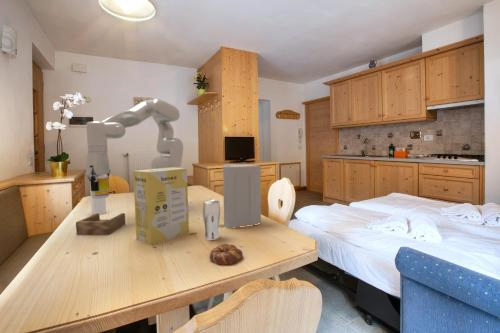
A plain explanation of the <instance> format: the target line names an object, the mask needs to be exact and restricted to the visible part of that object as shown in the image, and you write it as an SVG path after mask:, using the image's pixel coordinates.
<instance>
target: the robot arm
mask: <svg viewBox="0 0 500 333" xmlns="http://www.w3.org/2000/svg"><path fill="white" fill-rule="evenodd" d="M180 116H181V114H180V111H179V109H178V108H177V107H176V105H175V106H174V105H172V104H171V103H168V102H167V101H164V100H162V99H159V98H154V99H144V100H142V101H141V102H139V103H136V105H134V106H132V107H130V108H129V109H127V110H124V111H122V112H119V113H117V114H114V115H112V116H110V117H107V118H106V119H104V120H102V121H96V120H95V121H87V122H86V124H85V127H86V142H87V143H86V144H87V145H86V146H87V155H86V161H85V162H86V164H85V165H86V168H85V169H86V174H85V175H86V176H87V179H88V180H89V185H90V184H91V191H99V183H98V182H97V180H98V176H99V175H102V174H106V175H107V176H108V180H109V179H110V177H109V176H110V174H111V169H110V161H109V156H108V153H109V151H108V139H109V140H111V139H112V140H115V139H121V138H123V137H124V136H125V134H126V131H127V130H126V129H127V128H131V127H135V126H137V125H140V124H141V123H142V122H145V121H146V120H147V119H148V118H150V117H152V119H153V121H154V122H155V123H156V125H157V127H158V135H157V143H156V150H157V153H159V154H161V155H158V156H155V157H154V158H152V160H151V166H150V167H151V169H159V168H170V167H175V168H182V161H183V154H184V143H183V142H182V140H181V139H180V138H177V137H174V132H175V130H174V127H173V125H172V124H171V123H172V122H177V121H178V120H179V119H180ZM170 122H171V123H170ZM167 155H168V156H167ZM93 174H96V175H93ZM94 177H95V178H94ZM109 186H110V184H109V182H108V189H109ZM91 191H90V192H91Z"/></svg>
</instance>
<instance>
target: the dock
mask: <svg viewBox="0 0 500 333" xmlns="http://www.w3.org/2000/svg"><path fill="white" fill-rule="evenodd" d="M75 226H76V227H75V229H76V236H77V235H78V236H80V235H81V236H87V235H88V236H98V235H99V236H102V235H104V236H109V235H111V234H112V233H114V232H116V231H117V230H120V229H121V228H122V227H124V226H126V213H120V214H118V215H116V216H115V217H112V218H110V219H100V214H99V213H96V214H92V215H90V216H89V215H88V216H87V217H84V218H83V219H80V220H78V221H76V222H75Z"/></svg>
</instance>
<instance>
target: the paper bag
mask: <svg viewBox="0 0 500 333" xmlns="http://www.w3.org/2000/svg"><path fill="white" fill-rule="evenodd" d="M261 168H262V167H261V165H255V164H238V163H237V164H236V163H235V164H234V163H229V164H228V163H227V164H223V166H222V183H223V184H222V185H223V186H222V189H223V228H224V227H226V228H225V229H227V228H232V229H234V228H233V227H240V226H247V225H255V224H258V223H260V222H261V223H262V202H261V201H262V199H261V198H262V194H261V192H262V191H261V190H262V188H261V186H262V185H261V180H262V179H261V176H262V175H261V172H262V170H261Z"/></svg>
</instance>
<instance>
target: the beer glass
mask: <svg viewBox="0 0 500 333" xmlns="http://www.w3.org/2000/svg"><path fill="white" fill-rule="evenodd" d="M202 218H203V223H204V240H205V241H211V240H213V241H217V240H219V239H220V233H219V225H220V219H221V206H220V201H219V200H216V199H209V200H205V201H204V200H203V202H202Z"/></svg>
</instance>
